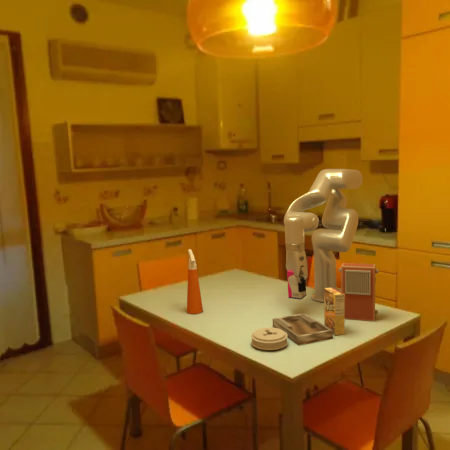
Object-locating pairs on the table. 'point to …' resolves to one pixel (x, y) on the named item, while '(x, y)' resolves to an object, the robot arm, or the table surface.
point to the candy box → (334, 310)
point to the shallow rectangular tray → (303, 328)
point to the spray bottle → (193, 287)
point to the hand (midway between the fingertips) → (297, 288)
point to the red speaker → (359, 290)
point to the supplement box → (294, 286)
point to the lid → (269, 338)
